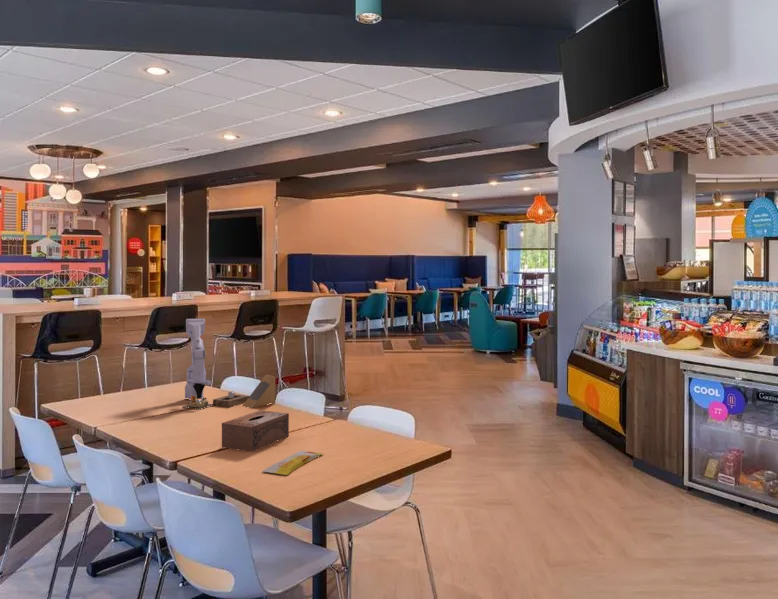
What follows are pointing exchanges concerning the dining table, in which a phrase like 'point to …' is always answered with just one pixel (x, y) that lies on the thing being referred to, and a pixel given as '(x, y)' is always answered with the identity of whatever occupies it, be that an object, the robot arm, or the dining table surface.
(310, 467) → the dining table surface
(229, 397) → the pin
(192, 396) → the nut base
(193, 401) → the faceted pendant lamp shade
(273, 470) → the food package
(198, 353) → the robot arm
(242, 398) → the slot block
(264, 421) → the tissue box cover
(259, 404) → the sandwich container
